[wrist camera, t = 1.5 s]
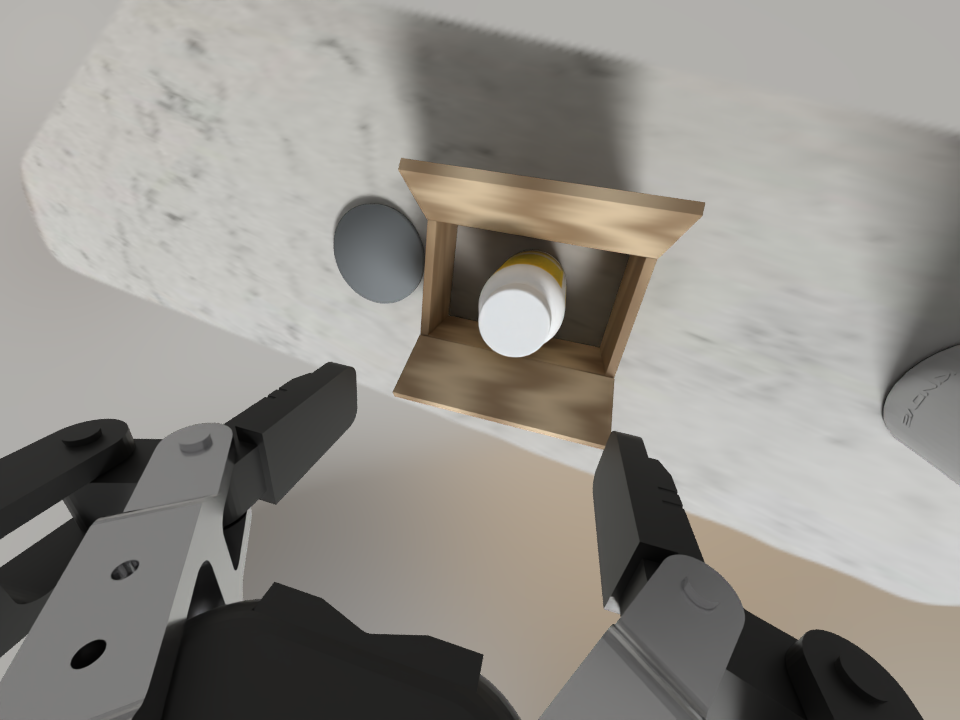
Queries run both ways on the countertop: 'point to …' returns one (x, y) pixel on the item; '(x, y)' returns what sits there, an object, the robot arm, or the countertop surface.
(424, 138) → the countertop surface
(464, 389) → the carton
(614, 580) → the robot arm
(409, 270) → the coaster
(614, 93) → the countertop surface
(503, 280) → the supplement bottle
